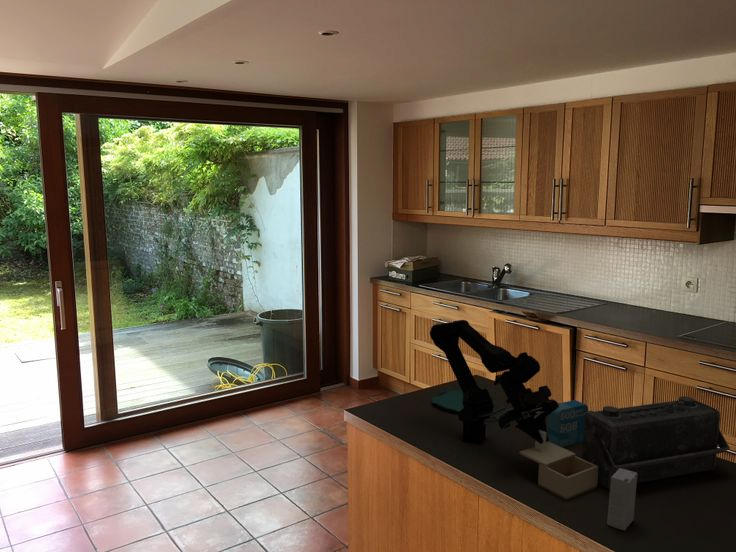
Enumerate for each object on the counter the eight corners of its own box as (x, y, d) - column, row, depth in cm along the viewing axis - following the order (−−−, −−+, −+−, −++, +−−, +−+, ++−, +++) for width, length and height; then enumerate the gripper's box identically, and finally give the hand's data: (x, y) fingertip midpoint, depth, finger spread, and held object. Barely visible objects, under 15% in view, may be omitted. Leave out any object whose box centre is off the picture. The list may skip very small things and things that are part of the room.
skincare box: (615, 514, 146) (618, 466, 144) (634, 521, 143) (638, 472, 141) (605, 525, 141) (609, 475, 139) (626, 532, 138) (629, 482, 137)
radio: (686, 454, 178) (691, 388, 175) (728, 476, 165) (735, 405, 162) (575, 472, 167) (579, 402, 164) (611, 498, 154) (616, 422, 151)
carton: (538, 485, 160) (539, 464, 159) (568, 473, 166) (569, 453, 165) (566, 500, 152) (567, 478, 151) (597, 487, 159) (598, 466, 158)
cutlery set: (456, 391, 232) (456, 386, 231) (526, 414, 210) (526, 408, 210) (421, 405, 218) (421, 399, 218) (492, 431, 197) (493, 424, 196)
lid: (519, 453, 165) (520, 433, 164) (549, 443, 171) (549, 424, 170) (545, 466, 157) (546, 445, 156) (575, 455, 164) (576, 435, 163)
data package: (556, 448, 182) (558, 410, 180) (546, 443, 186) (547, 405, 184) (586, 441, 187) (588, 403, 185) (575, 435, 191) (577, 399, 189)
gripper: (507, 382, 161) (538, 437, 154) (555, 371, 171) (586, 421, 164) (485, 402, 169) (513, 455, 162) (532, 390, 179) (561, 439, 172)
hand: (544, 442), depth 165 cm, fingers closed on lid, 2 cm apart
